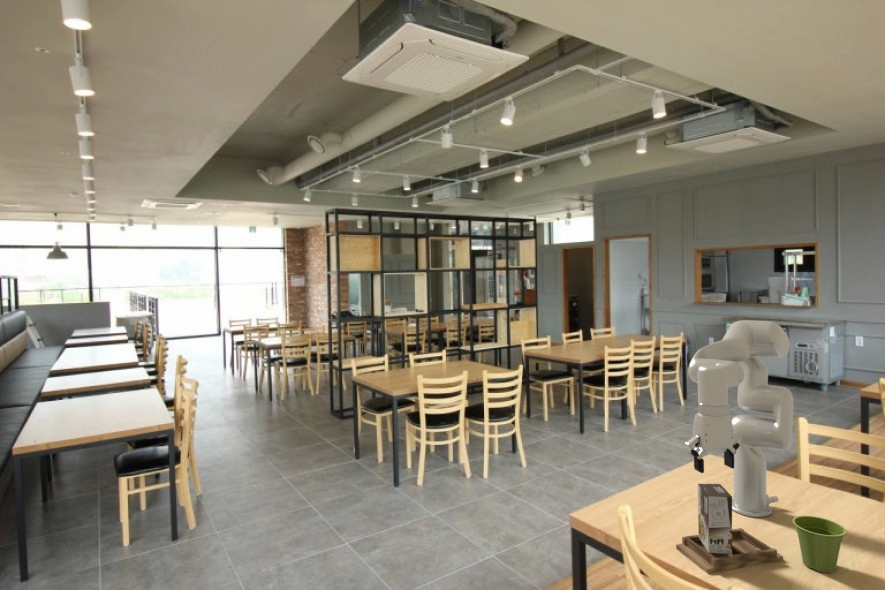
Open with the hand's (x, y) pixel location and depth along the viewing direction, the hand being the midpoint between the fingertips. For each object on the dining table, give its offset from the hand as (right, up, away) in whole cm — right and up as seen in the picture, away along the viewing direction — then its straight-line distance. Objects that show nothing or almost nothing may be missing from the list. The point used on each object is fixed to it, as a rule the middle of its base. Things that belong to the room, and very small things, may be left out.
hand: (714, 468), depth 148 cm
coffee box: (+1, -22, +1) cm, 22 cm away
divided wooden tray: (+5, -25, +2) cm, 25 cm away
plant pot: (+26, -25, -5) cm, 36 cm away
